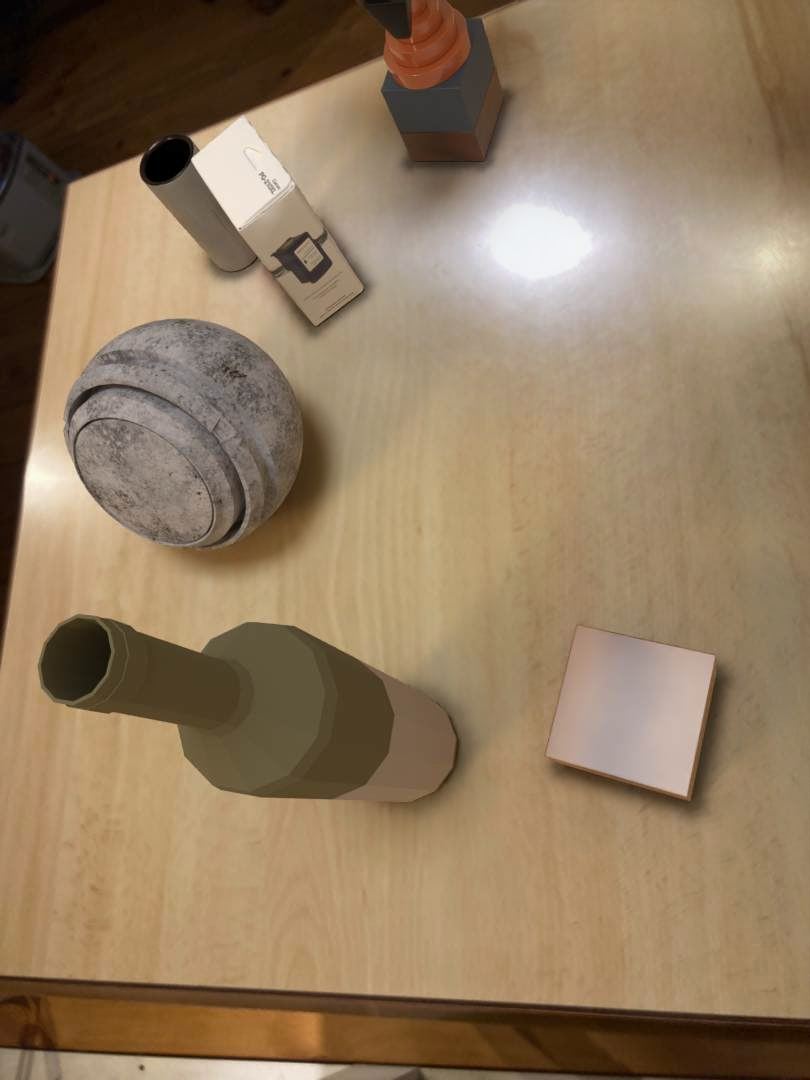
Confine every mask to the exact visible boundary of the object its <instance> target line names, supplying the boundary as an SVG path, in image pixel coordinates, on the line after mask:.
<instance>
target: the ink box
mask: <svg viewBox="0 0 810 1080" xmlns="http://www.w3.org/2000/svg"><path fill="white" fill-rule="evenodd" d="M199 150H200V151H199V152H198V153H197V154H196V155H194V156H193V157H192V159H191V161H192V163H193V165H194V166H195V168H196V170H197V171H198V173H199V174H200V176H201V177H202V179H203V181H204V182H205V183H206V185H207V186H208V188H209V189H210V191H211V192H212V194H213V195H214V197H215V198H216V200H217V201H218V203H219V204H220V206H221V207H222V209H223V210H224V212H225V213H226V214H227V216H228V217H229V219H230V220H231V222H232V223H233V225H234V226H235V228H236V229H237V231H238V232H239V233H240V235H241V236H242V237H243V238H244V240H245V241H246V242H247V243H248V245H249V246H250V247H251V249H252V250H253V251H254V252H255V254H256V255H257V258H258V259H259V260H260V261H261V263H262V264H263V265H264V266H265V267H266V268H267V270H268V272H270V274H271V275H272V276H273V277H274V278H275V279H276V281H277V282H278V283H279V285H280V286H281V288H282V289H283V290H284V291H285V292H286V293H287V294H288V296H289V297H290V298H291V299H292V301H293V303H295V304H296V306H297V307H298V308H299V309H300V310H301V311H302V313H303V314H304V315H305V316H306V317H307V318H308V320H309V321H310V322H311V323H312V324H313V326H314V327H317V326H319V325H320V324H321V323H323V322H324V321H325V320H327V319H328V318H329V317H330V316H332V315H333V314H334V313H336V312H337V311H338V310H339V309H341V308H342V307H344V306H345V305H346V304H347V303H349V302H350V301H351V300H353V299H354V298H355V297H357V296H358V295H359V294H361V293H362V292H363V290H364V285H363V284H362V282H361V281H360V279H359V278H358V276H357V275H356V273H355V271H354V270H353V269H352V266H351V265H350V263H349V262H348V260H347V259H346V258H345V255H344V254H343V253H342V251H341V250H340V248H339V247H338V245H337V243H336V242H335V240H334V238H333V237H332V236H331V234H330V233H329V231H328V229H327V228H326V226H325V225H324V223H323V222H322V220H321V219H320V217H319V216H318V214H317V213H316V211H315V210H314V209H313V207H312V205H311V204H310V202H309V201H308V199H307V198H306V196H305V195H304V193H303V192H302V190H301V189H300V187H299V186H298V185H297V182H296V181H295V180H294V178H293V176H292V175H291V174H290V173H289V172H288V170H287V169H286V168H285V166H284V164H283V163H282V162H281V161H280V159H279V158H278V156H276V154H275V153H274V152H273V151H272V149H271V148H270V146H269V145H268V144H267V143H266V141H265V140H264V139H263V137H262V136H261V135H260V133H259V132H258V130H257V129H256V128H255V127H254V126H253V124H252V123H251V122H250V120H249V119H248V117H246V115H245V114H242V115H241V116H240V117H238V118H237V119H236V120H235V121H234V122H233V123H232V124H230V125H229V126H228V127H227V128H226V129H224V130H223V131H222V132H221V133H220V134H218V135H217V136H216V137H215V138H213V139H212V140H211V141H210V142H209V143H207V144H206V145H205V146H204V147H202V149H199Z"/></svg>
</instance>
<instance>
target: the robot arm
mask: <svg viewBox="0 0 810 1080" xmlns="http://www.w3.org/2000/svg"><path fill="white" fill-rule="evenodd" d="M355 1H356V2H357V3H359V5H361V7H363V9H364V10H365V11H366V12H367V13H368V14H369V15H370V16H372V17H373V19H374V20H375V21H377V22H378V24H379V25H381V27H383V29H385V31H386V30H387V31H388V32H389V33H390V34H391V35H392V36H393V37H394V38H395V39H408V38H410V37H411V34H412V2H411V0H355Z"/></svg>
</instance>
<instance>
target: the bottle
mask: <svg viewBox="0 0 810 1080" xmlns="http://www.w3.org/2000/svg"><path fill="white" fill-rule="evenodd" d="M37 671H38V678H39V683H40V688H41V690H42V691H43V692H44V693H45V694H46V695H47V696H48V697H49V699H50V700H51V701H52V702H53V703H55V704H59V705H60V704H61V705H65V706H66V707H67V708H70V709H71V708H72V709H77V710H82V711H88V712H95V713H100V714H106V715H109V714H112V713H116V714H120V715H126V716H131V717H137V718H142V719H146V720H153V721H157V722H163V723H168V724H173V725H176V726H177V731H178V734H179V738H180V743H181V748H182V752H183V756H184V758H185V759H186V760H187V761H188V762H189V763H190V764H191V765H192V766H193V767H194V768H195V769H196V771H198V772H199V773H200V774H201V775H202V776H203V777H204V779H206V781H207V782H208V783H209V784H210V785H211V786H213V787H214V788H216V789H218V790H220V791H222V792H223V791H224V792H229V793H233V794H234V793H235V794H239V795H245V796H250V797H256V798H263V799H264V798H265V799H267V798H269V799H297V800H298V799H300V800H332V801H333V800H334V801H335V800H336V801H366V802H399V803H400V802H401V803H411V802H413V801H416V800H418V799H420V798H423V797H425V796H427V795H429V794H432V793H434V792H436V791H438V790H439V789H440V787H441V786H442V785H443V783H444V782H445V781H446V779H447V778H448V776H449V775H450V773H451V772H452V771H453V770H454V768H455V762H456V754H457V747H458V738H457V735H456V733H455V730H454V727H453V724H452V722H451V719H450V717H449V713H448V712H447V711H446V710H445V709H444V708H443V707H441V705H439V704H438V703H436V701H434V700H433V699H432V698H431V697H429V695H427V694H426V693H424V692H421V691H420V690H418V689H416V688H414V687H412V686H410V685H408V684H406V683H405V682H402V681H400V680H398V679H397V678H395V677H393V676H391V675H389V674H387V673H385V672H384V671H382V670H380V669H377V668H376V667H374V666H372V665H370V664H368V663H366V662H364V661H362V660H361V659H359V658H357V657H356V656H353V655H351V654H349V653H347V652H345V651H343V650H342V649H340V648H337V647H335V646H333V645H332V644H330V643H328V642H326V641H324V640H322V639H321V638H318V637H316V636H315V635H312V634H310V633H309V632H307V631H305V630H303V629H301V628H300V627H297V626H296V625H288V624H279V623H270V622H269V623H268V622H261V621H260V622H258V621H245V622H243V623H242V624H239V625H238V626H234V627H233V628H230V629H229V630H227V631H225V632H223V633H221V634H218V635H217V636H214V637H212V638H210V639H209V641H208V642H207V644H206V645H205V646H204V647H203V648H202V650H201V651H197V650H193V649H190V648H187V647H185V646H181V645H179V644H176V643H174V642H170V641H167V640H165V639H161V638H158V637H155V636H153V635H149V634H147V633H144V632H141V631H137V630H136V629H135V628H134V627H133V626H132V625H130V624H127V623H124V622H121V621H118V620H116V619H112V618H108V617H101V616H98V615H92V614H82V613H77V614H74V615H73V616H70V617H69V618H67V619H64V620H63V621H61V622H59V623H57V625H56V626H55V628H54V629H53V630H52V632H51V633H50V634H49V636H48V637H47V638H46V639H45V641H44V642H43V645H42V648H41V652H40V656H39V659H38V663H37Z"/></svg>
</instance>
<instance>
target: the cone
mask: <svg viewBox="0 0 810 1080" xmlns="http://www.w3.org/2000/svg"><path fill="white" fill-rule="evenodd" d="M411 2H412V34H411V37H410V38H408V39H395V38H394V37H393V36H392V35H391V34H390V33H389V32H388V31H387V30H386V29H385V42H384V47H383V60H384V63H385V66H386V67H387V71H388V70H389V72H390V75H391V77H392V78H393V80H394V81H395V82H396V83H397V84H398V85H400V86H402V87H404V88H407V89H413V90H420V89H426V88H430V87H434V86H436V85H438V84H441V83H442V82H444V81H446V80H447V79H449V78H450V77H452V76H453V75H454V74H455V73H456V72H457V71H458V70H459V69H460V68H461V67H462V66H463V64H464V63H465V61H466V59H467V57H468V55H469V53H470V49H471V37H470V33H469V30H468V27H467V24H466V21H465V19H466V18H465V16H464V15H463V14H462V13H461V12H460V11H459V10H457V9H456V8H454V7H452V5H451V4H450V3H449V2H448V1H447V0H411Z"/></svg>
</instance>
